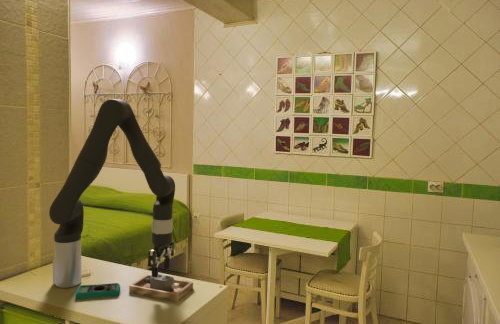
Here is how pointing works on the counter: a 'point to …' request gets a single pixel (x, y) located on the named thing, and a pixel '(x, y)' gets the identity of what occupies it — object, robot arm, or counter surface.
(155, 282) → the gray bottle
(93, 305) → the counter surface
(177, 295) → the oak tray
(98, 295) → the digital multimeter
